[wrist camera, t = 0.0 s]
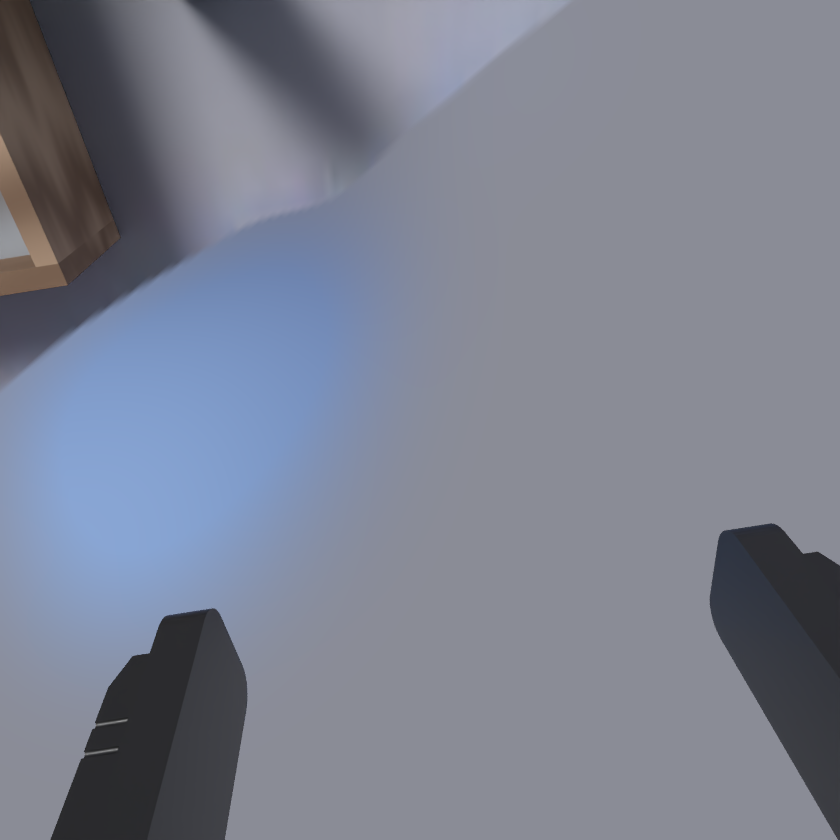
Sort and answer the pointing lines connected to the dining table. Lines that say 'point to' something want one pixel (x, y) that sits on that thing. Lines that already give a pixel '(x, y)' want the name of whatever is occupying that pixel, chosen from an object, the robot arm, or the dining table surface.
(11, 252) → the bore box
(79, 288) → the dining table surface
